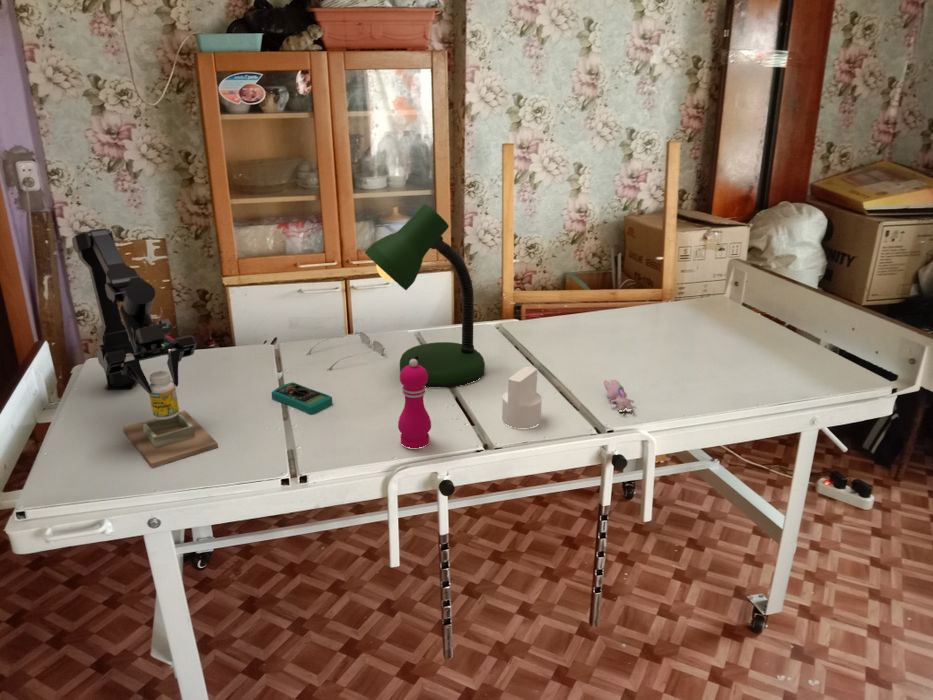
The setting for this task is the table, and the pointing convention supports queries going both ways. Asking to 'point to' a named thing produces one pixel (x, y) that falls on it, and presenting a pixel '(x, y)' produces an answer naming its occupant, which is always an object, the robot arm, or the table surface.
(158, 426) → the bottle holder
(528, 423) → the cylinder with rectangular tab
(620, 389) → the rabbit figure
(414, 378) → the pepper mill
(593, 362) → the table surface
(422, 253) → the desk lamp
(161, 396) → the supplement bottle
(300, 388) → the digital multimeter
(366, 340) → the eyeglasses
